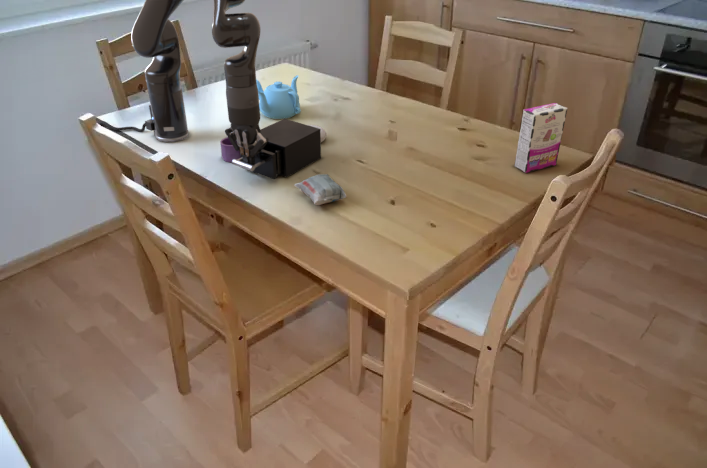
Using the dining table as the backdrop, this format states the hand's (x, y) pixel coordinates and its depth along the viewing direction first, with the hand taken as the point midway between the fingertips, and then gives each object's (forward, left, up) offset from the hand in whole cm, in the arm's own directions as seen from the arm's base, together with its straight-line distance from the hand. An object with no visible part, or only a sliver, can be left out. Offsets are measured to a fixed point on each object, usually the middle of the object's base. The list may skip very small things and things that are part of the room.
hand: (249, 167), depth 147 cm
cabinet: (0, +14, -4) cm, 15 cm away
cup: (-13, +7, -4) cm, 15 cm away
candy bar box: (+56, +52, -4) cm, 77 cm away
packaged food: (+20, +3, -4) cm, 20 cm away
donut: (-4, +29, -4) cm, 30 cm away
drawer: (0, +7, -3) cm, 7 cm away
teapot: (-26, +40, -4) cm, 48 cm away
